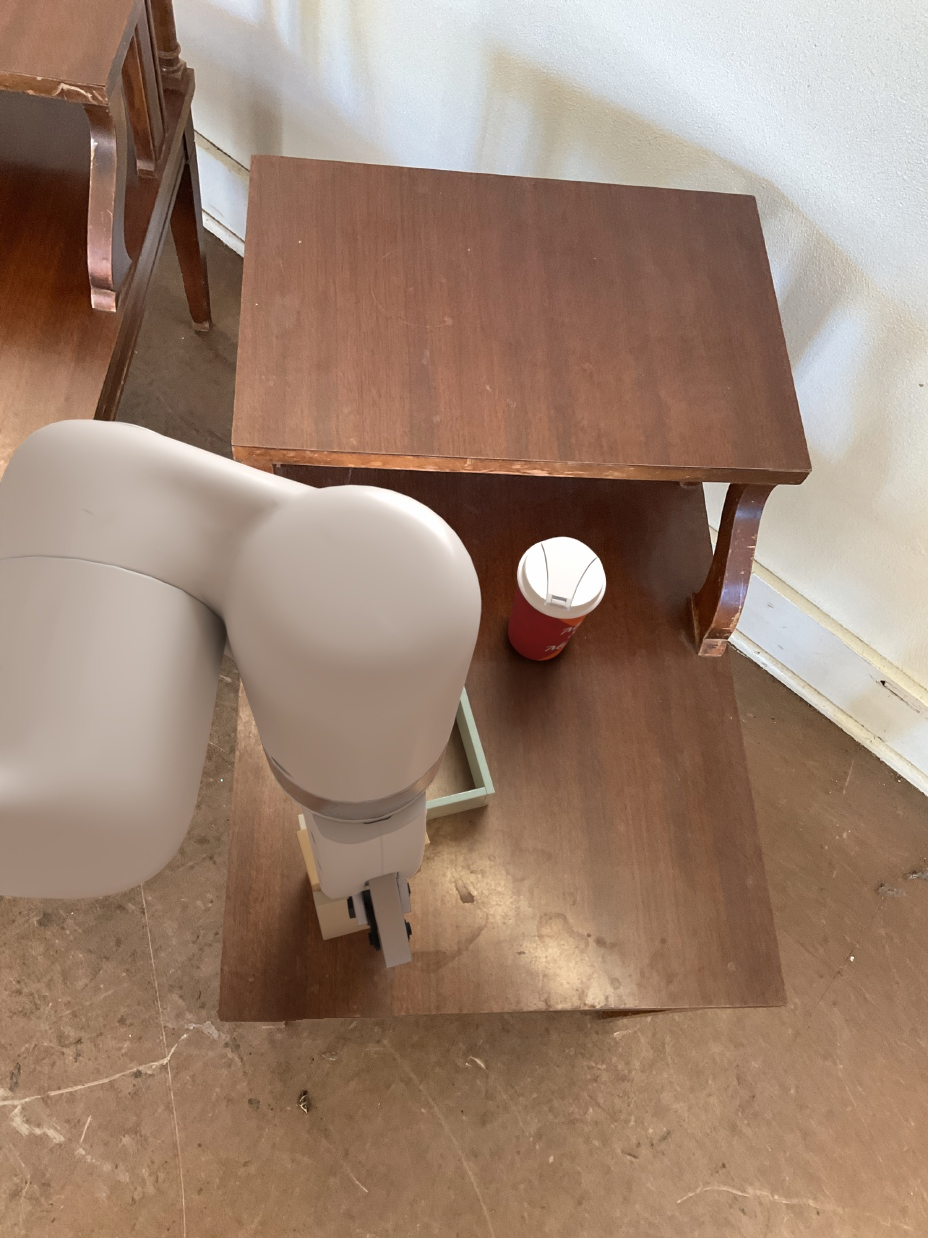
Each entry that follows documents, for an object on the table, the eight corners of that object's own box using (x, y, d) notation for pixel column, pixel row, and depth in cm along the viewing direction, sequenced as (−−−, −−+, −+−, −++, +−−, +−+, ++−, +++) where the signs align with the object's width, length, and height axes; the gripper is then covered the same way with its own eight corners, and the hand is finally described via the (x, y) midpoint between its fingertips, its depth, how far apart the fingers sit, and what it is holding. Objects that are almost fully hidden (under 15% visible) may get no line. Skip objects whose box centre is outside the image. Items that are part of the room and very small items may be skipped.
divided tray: (361, 840, 79) (361, 825, 74) (310, 615, 88) (308, 588, 83) (486, 808, 81) (495, 792, 76) (425, 593, 90) (429, 566, 85)
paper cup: (566, 683, 87) (602, 621, 75) (488, 664, 87) (511, 598, 75) (579, 613, 91) (616, 542, 78) (504, 594, 91) (529, 520, 78)
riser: (323, 942, 75) (315, 907, 57) (309, 870, 77) (297, 815, 59) (394, 923, 76) (408, 883, 58) (378, 853, 79) (386, 793, 61)
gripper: (226, 552, 39) (264, 694, 54) (305, 971, 32) (323, 998, 47) (397, 521, 40) (387, 668, 56) (507, 915, 34) (461, 959, 49)
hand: (358, 820), depth 52 cm, fingers open, 9 cm apart
